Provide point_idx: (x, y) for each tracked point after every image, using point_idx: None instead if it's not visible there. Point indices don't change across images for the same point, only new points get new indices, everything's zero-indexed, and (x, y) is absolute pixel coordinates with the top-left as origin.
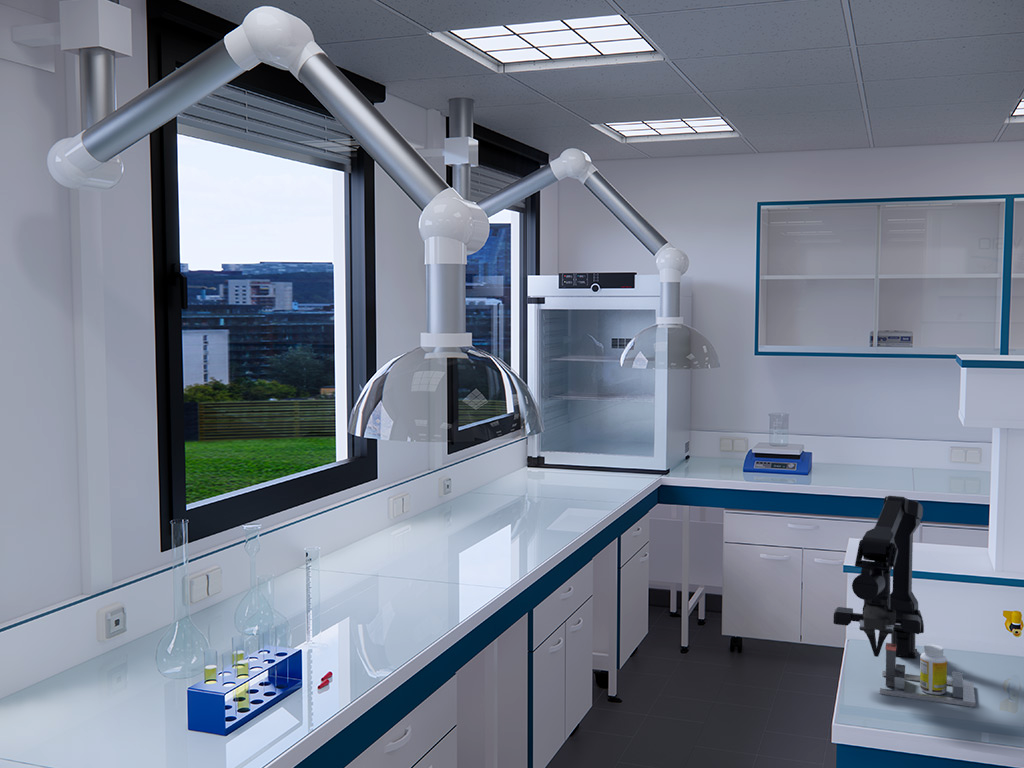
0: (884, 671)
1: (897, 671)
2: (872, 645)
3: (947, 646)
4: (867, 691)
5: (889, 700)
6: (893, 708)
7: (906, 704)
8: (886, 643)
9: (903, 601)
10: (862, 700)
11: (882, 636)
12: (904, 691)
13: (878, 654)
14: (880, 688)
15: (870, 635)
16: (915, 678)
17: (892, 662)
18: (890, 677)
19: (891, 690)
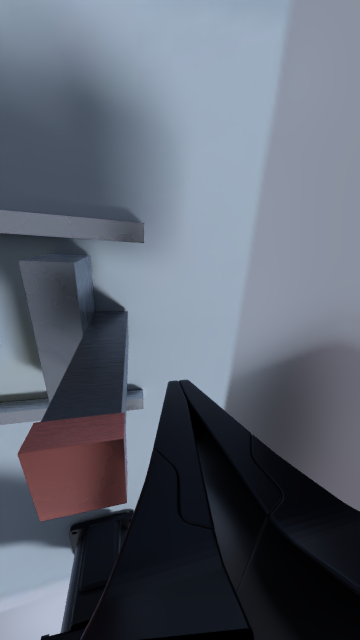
0: (138, 406)
1: (73, 347)
2: (226, 421)
3: (19, 601)
4: (186, 238)
5: (99, 150)
6: (65, 9)
7: (13, 109)
8: (122, 494)
9: None
10: (208, 112)
11: (167, 565)
12: (38, 233)
13: (169, 387)
14: (142, 237)
15: (311, 515)
16: (37, 404)
17: (87, 360)
18: (107, 323)
19: (96, 228)
